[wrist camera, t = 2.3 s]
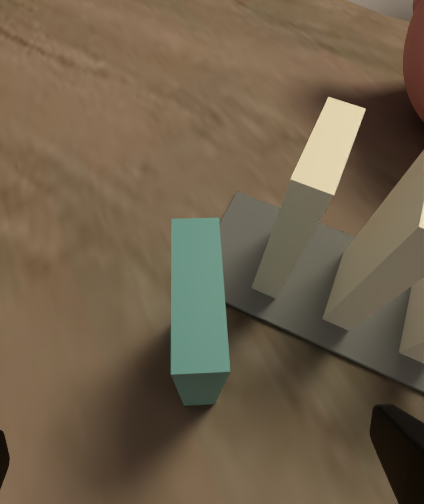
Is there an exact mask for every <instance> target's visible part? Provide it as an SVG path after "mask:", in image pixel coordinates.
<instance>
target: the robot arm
mask: <svg viewBox="0 0 424 504" xmlns="http://www.w3.org/2000/svg"><path fill="white" fill-rule="evenodd" d="M370 437H371V441H372V443H373V446H374V448H375V450H376V453H377V455H378V457H379V460H380V462H381V464H382V467H383V469H384V471H385V473H386V476H387V478H388V480H389V483H390V485H391V487H392V490H393V492H394V494H395V497H396V499H397V501H398V503H399V504H424V423H423V422H421V421H419V420H418V419H416V418H414V417H413V416H411V415H409V414H408V413H406V412H404V411H403V410H401V409H400V408H398V407H396V406H395V405H393V404H377V405H375V406H374V407H373V411H372V418H371V425H370ZM9 461H10V457H9V452H8V448H7V444H6V439H5V435H4V432H3V431H2V430H0V489H1V486H2V483H3V481H4V478H5V475H6V472H7V470H8V467H9Z"/></svg>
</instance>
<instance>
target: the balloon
mask: <svg viewBox="0 0 424 504" xmlns="http://www.w3.org/2000/svg"><path fill="white" fill-rule="evenodd" d="M403 74H404V82H405V86H406V90H407V94H408V97H409V99H410V101H411V104H412V106H413V107H414V109H415V111H416V112H417V114H418V115H419V117H420V118H421V119H422V121H423V122H424V0H414V2H413V16H412V19H411V22H410V25H409V28H408V32H407V36H406V40H405V46H404V54H403Z"/></svg>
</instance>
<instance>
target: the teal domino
mask: <svg viewBox="0 0 424 504" xmlns="http://www.w3.org/2000/svg"><path fill="white" fill-rule="evenodd" d="M229 374H230V359H229V346H228V332H227V319H226V305H225V292H224V279H223V265H222V252H221V238H220V225H219V218H188V219H172V240H171V376H172V379H173V381H174V383H175V386H176V388H177V390H178V393H179V395H180V398H181V400H182V402H183V405H184V406H190V405H208V404H215V402H216V400H217V398H218V396H219V394H220V392H221V390H222V388H223V386H224V384H225V382H226V380H227V378H228V376H229Z"/></svg>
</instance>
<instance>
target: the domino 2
mask: <svg viewBox="0 0 424 504" xmlns="http://www.w3.org/2000/svg"><path fill="white" fill-rule="evenodd" d="M422 278H424V150H423V151H422V153H421V154H420V155H419V156H418V158H417V159H416V160H415V162H414V163H413V164H412V165H411V167H410V168H409V169H408V170H407V172H406V173H405V174H404V176H403V177H402V178H401V179H400V181H399V182H398V183H397V184H396V186H395V187H394V188H393V190H392V191H391V192H390V193H389V195H388V196H387V197H386V199H385V200H384V201H383V202H382V204H381V205H380V206H379V207H378V209H377V210H376V211H375V213H374V214H373V215H372V216H371V218H370V219H369V220H368V222H367V223H366V224H365V225H364V227H363V228H362V229H361V230H360V232H359V233H358V234H357V236H356V237H355V238H354V239H353V241H352V242H351V243H350V244H349V246H348V247H347V248H346V250H345V251H344V252H343V255H342V258H341V262H340V265H339V268H338V271H337V274H336V277H335V281H334V284H333V287H332V290H331V293H330V296H329V299H328V303H327V306H326V309H325V312H324V315H323V318H322V319H323V320H325V321H328V322H330V323H332V324H335V325H337V326H339V327H341V328H344V329H346V330H348V331H349V330H351V329H352V328H353V327H355V326H356V325H358V324H359V323H360V322H362V321H363V320H365V319H366V318H367V317H369V316H370V315H372V314H373V313H374V312H376V311H377V310H379V309H380V308H381V307H383V306H384V305H386V304H387V303H388V302H390V301H391V300H393V299H394V298H395V297H397V296H398V295H400V294H401V293H403V292H404V291H405V290H407V289H408V288H410V287H411V286H412V285H414V284H415V283H417V282H418V281H419V280H421V279H422Z"/></svg>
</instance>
